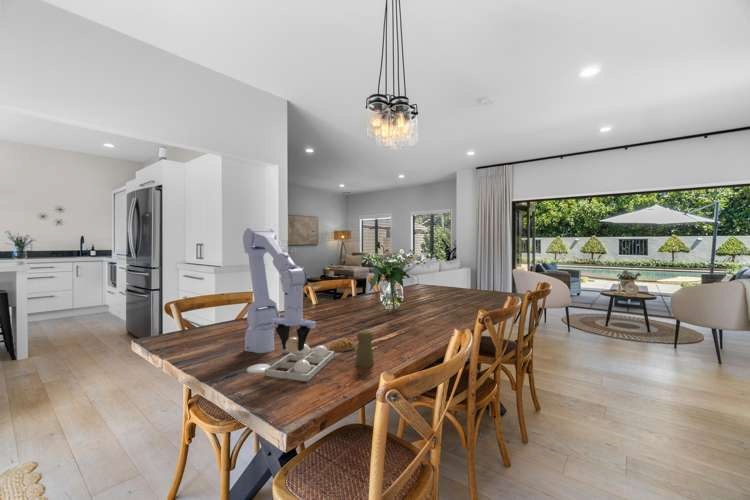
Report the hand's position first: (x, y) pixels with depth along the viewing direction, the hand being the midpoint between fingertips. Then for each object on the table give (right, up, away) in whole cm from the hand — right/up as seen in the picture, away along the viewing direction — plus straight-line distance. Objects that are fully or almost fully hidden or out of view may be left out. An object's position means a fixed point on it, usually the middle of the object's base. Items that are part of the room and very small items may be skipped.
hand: (293, 349), depth 102 cm
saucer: (-10, -6, -3) cm, 12 cm away
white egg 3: (+8, -5, +5) cm, 11 cm away
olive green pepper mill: (+23, -6, +3) cm, 23 cm away
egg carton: (+3, -6, -1) cm, 7 cm away
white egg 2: (+5, -6, -8) cm, 11 cm away
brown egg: (0, -1, 0) cm, 1 cm away
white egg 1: (+2, -5, +6) cm, 8 cm away
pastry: (+14, -6, +17) cm, 23 cm away
